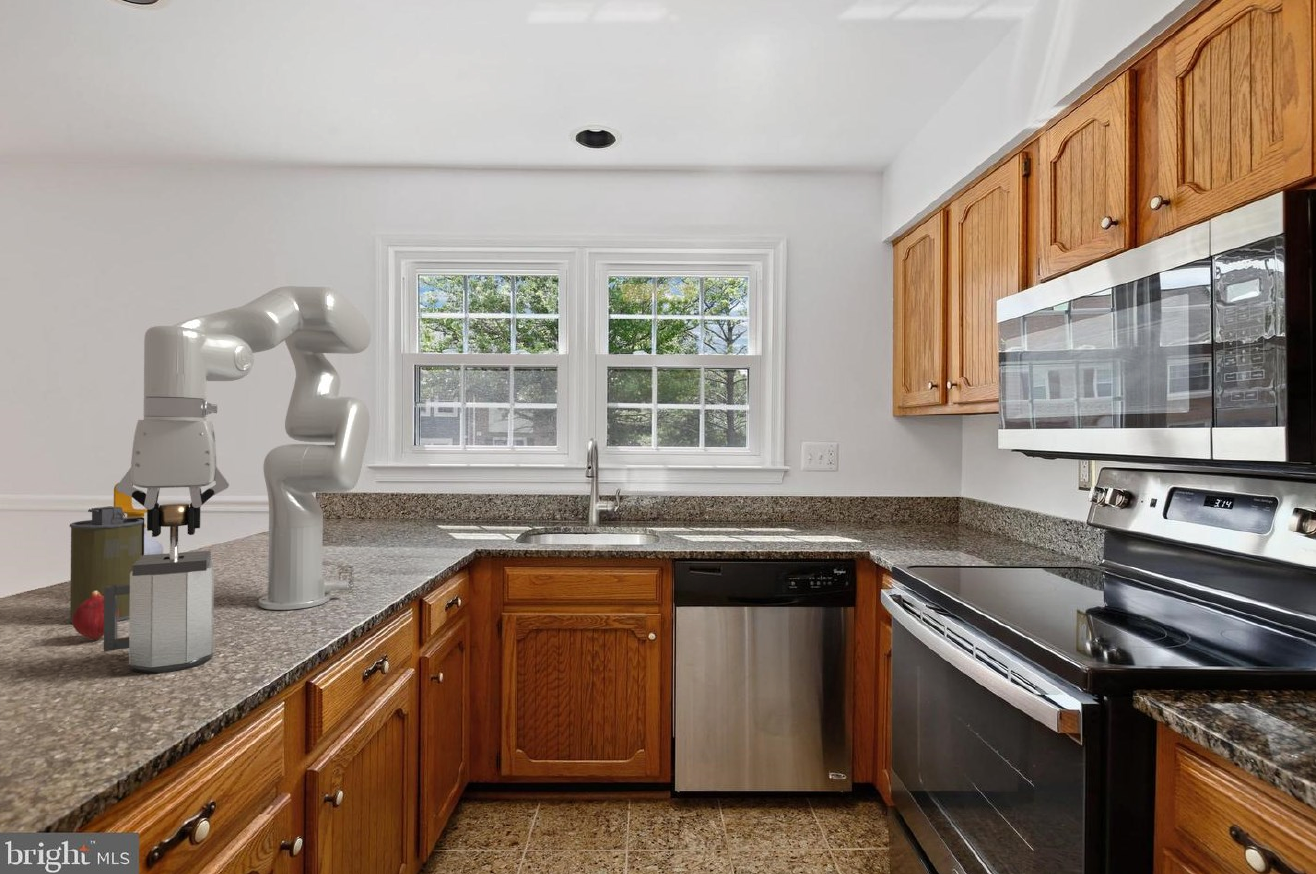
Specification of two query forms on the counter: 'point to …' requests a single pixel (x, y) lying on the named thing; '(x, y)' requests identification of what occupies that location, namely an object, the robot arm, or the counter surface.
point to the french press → (165, 612)
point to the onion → (90, 617)
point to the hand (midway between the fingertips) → (174, 533)
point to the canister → (104, 555)
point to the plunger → (173, 522)
